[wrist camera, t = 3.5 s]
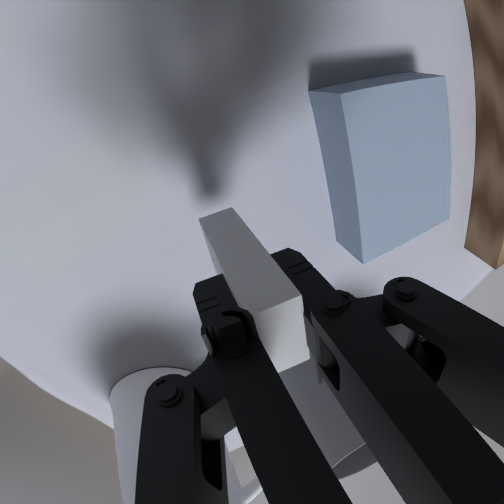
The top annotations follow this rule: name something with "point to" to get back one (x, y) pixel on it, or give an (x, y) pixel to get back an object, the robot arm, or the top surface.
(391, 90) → the block
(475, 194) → the brown wooden bar
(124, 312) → the top surface
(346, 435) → the cup
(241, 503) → the mug
